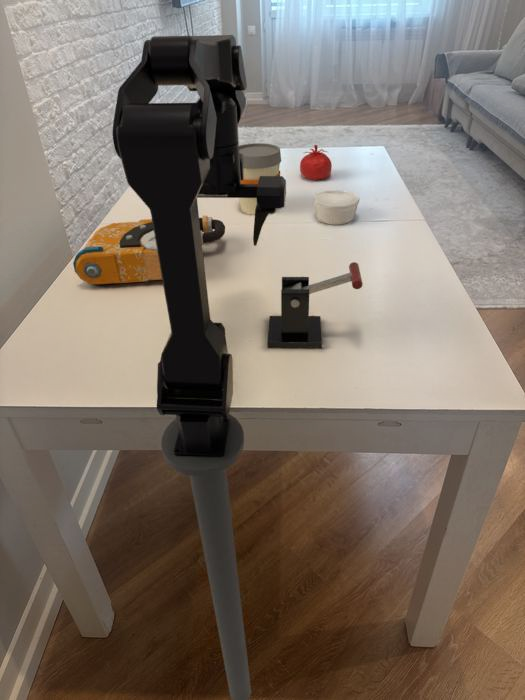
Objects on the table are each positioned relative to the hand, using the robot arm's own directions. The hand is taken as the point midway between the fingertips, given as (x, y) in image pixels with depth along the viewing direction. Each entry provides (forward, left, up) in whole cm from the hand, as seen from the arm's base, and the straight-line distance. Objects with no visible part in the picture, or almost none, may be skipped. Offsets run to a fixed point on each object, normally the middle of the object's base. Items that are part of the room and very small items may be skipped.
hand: (226, 244), depth 78 cm
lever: (-3, -16, -7) cm, 17 cm away
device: (+24, +19, -16) cm, 34 cm away
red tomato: (+80, -17, -16) cm, 83 cm away
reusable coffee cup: (+55, -1, -16) cm, 57 cm away
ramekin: (+48, -21, -16) cm, 55 cm away
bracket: (-3, -11, -15) cm, 19 cm away
